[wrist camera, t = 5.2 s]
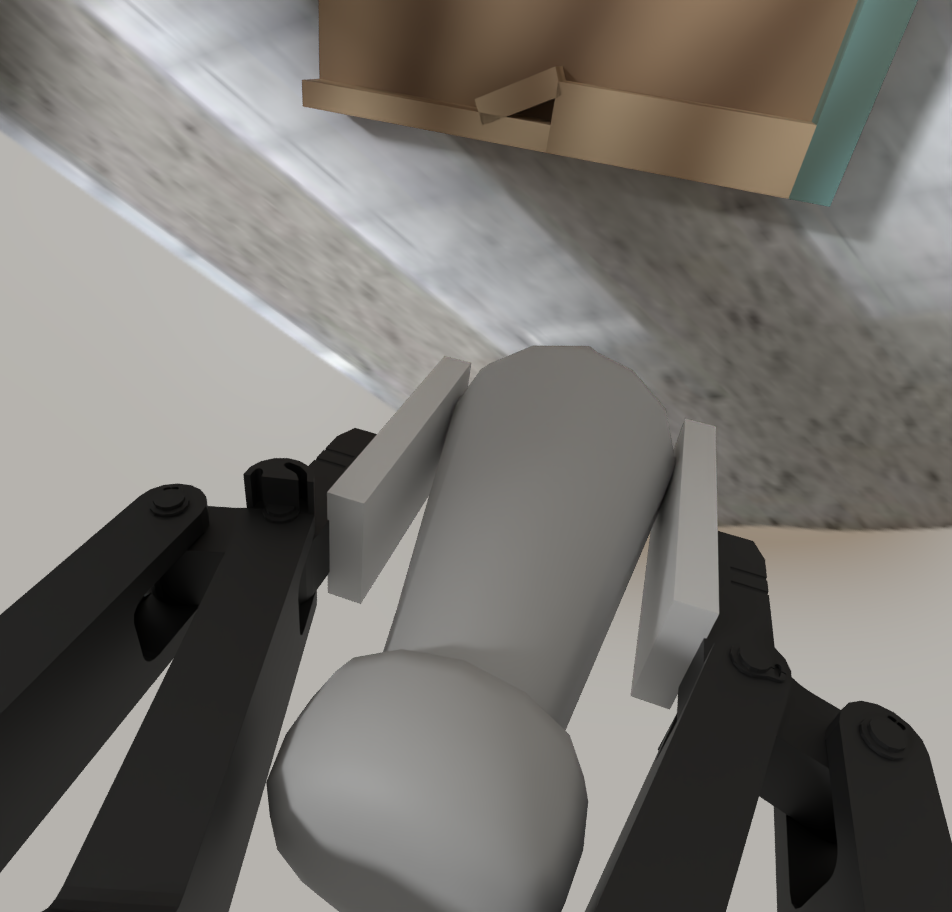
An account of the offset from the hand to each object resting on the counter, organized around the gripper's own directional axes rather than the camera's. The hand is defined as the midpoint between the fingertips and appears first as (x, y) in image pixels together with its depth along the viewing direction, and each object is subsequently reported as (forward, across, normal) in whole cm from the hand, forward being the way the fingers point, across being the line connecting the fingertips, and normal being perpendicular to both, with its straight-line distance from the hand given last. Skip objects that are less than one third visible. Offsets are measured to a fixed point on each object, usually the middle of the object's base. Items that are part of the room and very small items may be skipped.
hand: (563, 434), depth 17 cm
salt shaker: (+2, 0, 0) cm, 2 cm away
